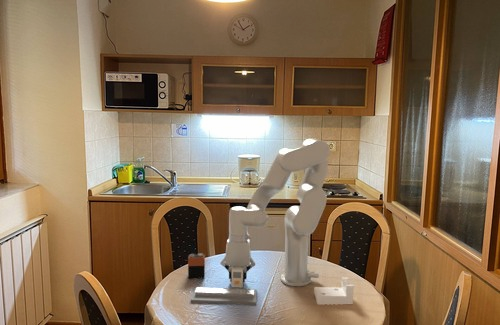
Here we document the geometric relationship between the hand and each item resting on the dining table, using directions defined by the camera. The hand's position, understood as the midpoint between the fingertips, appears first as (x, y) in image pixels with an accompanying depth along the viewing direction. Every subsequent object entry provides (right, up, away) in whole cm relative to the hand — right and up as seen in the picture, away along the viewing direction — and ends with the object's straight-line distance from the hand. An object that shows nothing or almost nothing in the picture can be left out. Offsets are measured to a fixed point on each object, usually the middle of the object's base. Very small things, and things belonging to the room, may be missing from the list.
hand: (237, 280), depth 153 cm
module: (0, -1, 0) cm, 1 cm away
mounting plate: (-5, -3, -12) cm, 13 cm away
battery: (-18, -1, +6) cm, 19 cm away
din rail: (-5, -3, -12) cm, 13 cm away
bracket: (+36, -4, -12) cm, 39 cm away
